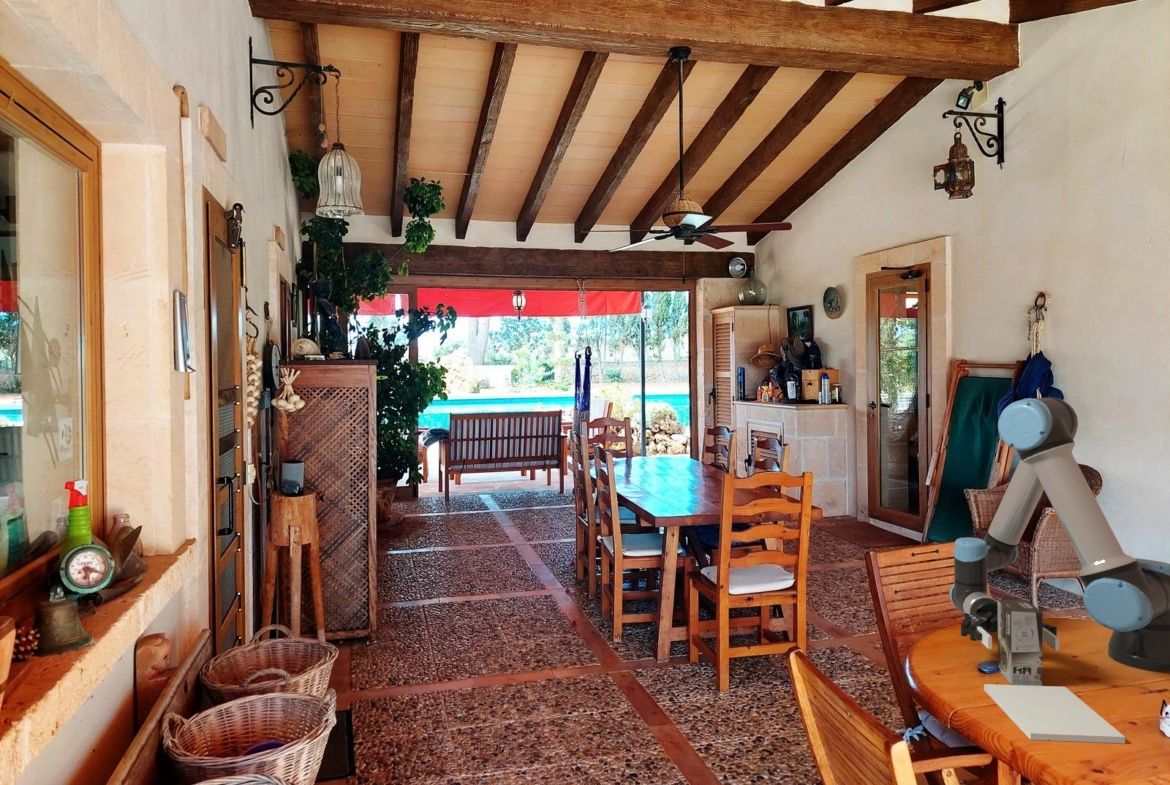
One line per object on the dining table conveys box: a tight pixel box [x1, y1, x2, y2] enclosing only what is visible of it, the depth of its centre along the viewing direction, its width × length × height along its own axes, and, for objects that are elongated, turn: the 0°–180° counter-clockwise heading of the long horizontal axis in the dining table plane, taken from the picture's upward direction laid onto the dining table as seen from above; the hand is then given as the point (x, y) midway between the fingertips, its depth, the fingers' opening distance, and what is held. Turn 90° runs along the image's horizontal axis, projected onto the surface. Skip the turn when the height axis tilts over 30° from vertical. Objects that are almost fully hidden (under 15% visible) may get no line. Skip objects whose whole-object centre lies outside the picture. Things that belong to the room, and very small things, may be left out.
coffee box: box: [997, 599, 1044, 686], centre depth 168 cm, size 9×6×16 cm
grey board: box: [983, 683, 1126, 745], centre depth 150 cm, size 16×22×1 cm
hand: (1023, 643), depth 165 cm, fingers open, 13 cm apart
